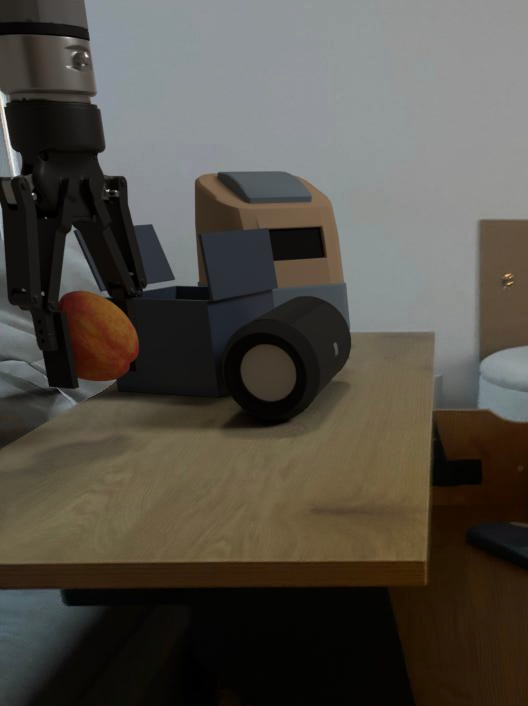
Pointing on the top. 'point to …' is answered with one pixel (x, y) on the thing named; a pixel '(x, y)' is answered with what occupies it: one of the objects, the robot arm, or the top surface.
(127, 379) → the carton
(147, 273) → the flap
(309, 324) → the portable speaker
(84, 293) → the fruit
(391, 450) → the top surface
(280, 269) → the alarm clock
